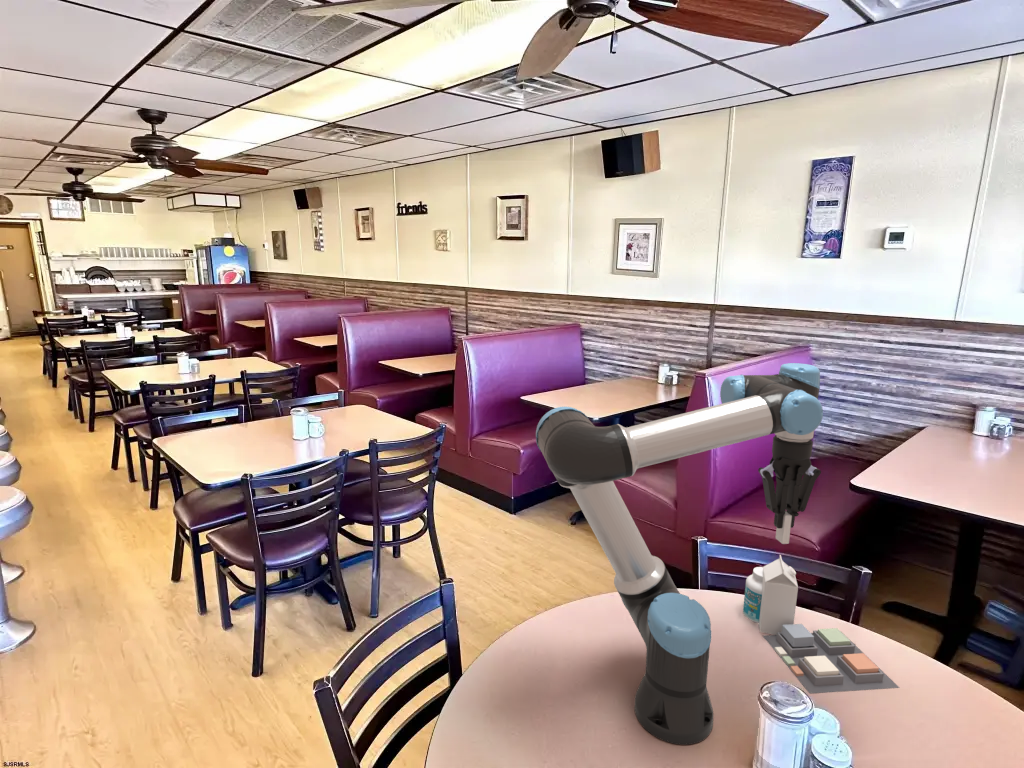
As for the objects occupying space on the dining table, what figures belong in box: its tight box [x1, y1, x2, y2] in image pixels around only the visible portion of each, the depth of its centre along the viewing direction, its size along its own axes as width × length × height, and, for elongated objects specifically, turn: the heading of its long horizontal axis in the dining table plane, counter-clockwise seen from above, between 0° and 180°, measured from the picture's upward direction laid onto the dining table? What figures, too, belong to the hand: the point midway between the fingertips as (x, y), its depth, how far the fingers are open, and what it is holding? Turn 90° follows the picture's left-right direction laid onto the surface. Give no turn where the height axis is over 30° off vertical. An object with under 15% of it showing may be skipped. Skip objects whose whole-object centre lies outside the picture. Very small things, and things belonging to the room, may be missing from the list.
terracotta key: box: [842, 652, 880, 674], centre depth 123 cm, size 5×5×2 cm
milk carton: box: [758, 554, 799, 635], centre depth 138 cm, size 7×7×19 cm
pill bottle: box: [742, 566, 764, 624], centre depth 143 cm, size 8×7×14 cm
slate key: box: [782, 623, 814, 647], centre depth 131 cm, size 5×5×2 cm
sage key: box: [817, 627, 852, 646], centre depth 132 cm, size 5×5×2 cm
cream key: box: [804, 656, 839, 676], centre depth 123 cm, size 5×5×2 cm
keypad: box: [762, 629, 900, 695], centre depth 128 cm, size 20×19×3 cm
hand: (782, 540), depth 124 cm, fingers closed
